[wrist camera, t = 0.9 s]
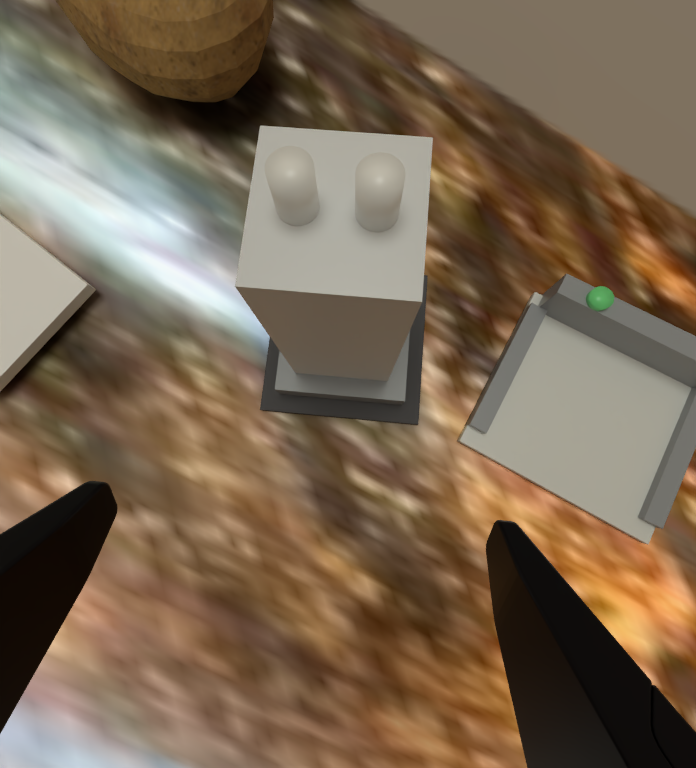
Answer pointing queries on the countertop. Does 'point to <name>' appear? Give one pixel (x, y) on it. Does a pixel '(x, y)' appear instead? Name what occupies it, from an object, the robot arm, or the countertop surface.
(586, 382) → the port
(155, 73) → the potato
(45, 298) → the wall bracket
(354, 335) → the plug
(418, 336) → the pad
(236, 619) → the countertop surface
